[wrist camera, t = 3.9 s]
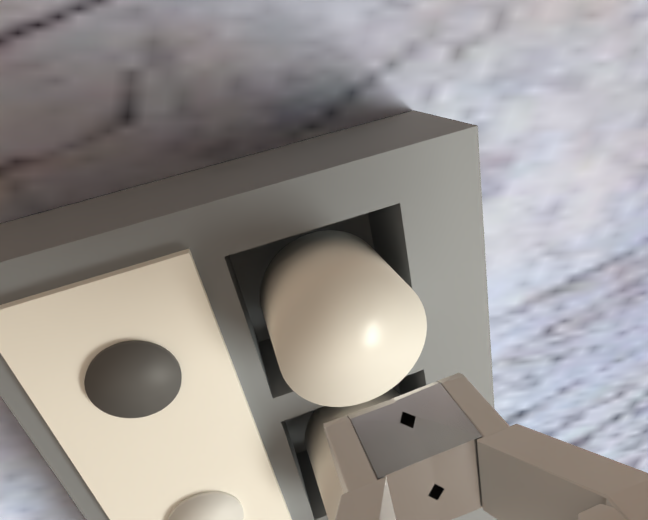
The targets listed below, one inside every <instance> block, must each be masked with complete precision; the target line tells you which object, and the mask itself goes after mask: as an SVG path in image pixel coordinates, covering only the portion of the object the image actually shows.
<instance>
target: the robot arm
mask: <svg viewBox="0 0 648 520" xmlns="http://www.w3.org/2000/svg"><path fill="white" fill-rule="evenodd" d="M323 427H324V431H325V434H326V438H327V441H328V445H329V448H330V452H331V455H332V459H333V462H334V465H335V469H336V472H337V475H338V478H339V481H340V485H341V488H342V491H343V493H344V494H342V495H341V497H340V501H339V505H338V509H337V513H336V517H335V520H452V519H455V518H457V517H460V516H462V515H465V514H468V513H470V512H473V511H475V510H478V509H480V508H483V510H484V511H485V512H487V513H488V514H490V515H491V516H493V517H495V518H496V519H498V520H648V473H646V472H643V471H641V470H638V469H635V468H633V467H630V466H627V465H625V464H622V463H619V462H617V461H614V460H611V459H609V458H606V457H604V456H601V455H598V454H596V453H593V452H590V451H588V450H585V449H582V448H580V447H577V446H574V445H572V444H569V443H566V442H564V441H561V440H558V439H556V438H553V437H551V436H548V435H545V434H543V433H540V432H537V431H535V430H532V429H529V428H527V427H524V426H521V425H519V424H515V425H512V426H509V425H508V424H507V423H506V421H505V420H504V419H503V418H502V417H501V416H500V415H499V414H498V413H497V411H496V410H495V409H494V408H493V407H492V406H491V405H490V404H489V402H488V401H487V400H486V399H485V398H484V397H483V396H482V395H481V394H480V392H479V391H478V390H477V389H476V388H475V387H474V386H473V385H472V384H471V382H470V381H469V380H468V379H467V378H466V377H465V376H464V375H463V374H461V373H456V374H454V375H451V376H449V377H446V378H443V379H441V380H438V381H437V382H433V383H431V384H428V385H426V386H423V387H420V388H418V389H415V390H413V391H410V392H408V393H405V394H402V395H400V396H397V397H395V398H392V399H391V400H388V401H385V402H382V403H379V404H376V405H373V406H371V407H368V408H365V409H362V410H359V411H356V412H353V413H351V414H348V415H347V416H344V417H341V418H338V419H335V420H332V421H329V422H326V423H323Z"/></svg>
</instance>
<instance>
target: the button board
mask: <svg viewBox="0 0 648 520" xmlns="http://www.w3.org/2000/svg"><path fill="white" fill-rule="evenodd" d="M325 230H336V231H343V232H347V233H350V234H353V235H355V236H357V237H359V238H361V239H362V240H364V241H365V242H366V243H367V244H369V245H370V246H371V247H372V248H373V249H374V250H375V251H376V252H377V253H378V254H379V255H380V256H381V258H382V259H383V260H384V261H385V262H386V263H387V264H388V265H389V266H390V267H391V268H392V269H393V270H394V271H395V272H396V273H397V274H398V275H399V276H400V277H401V278H402V279H403V280H404V281H405V282H406V283H407V284H408V285H409V286H410V287H411V288H412V289H413V291H414V292H415V293H416V294H417V295H418V297H419V299H420V300H421V302H422V304H423V307H424V310H425V314H426V318H427V333H426V339H425V343H424V346H423V349H422V352H421V354H420V356H419V358H418V360H417V362H416V363H415V365H414V366H413V368H412V369H411V370H410V371H409V373H408V374H407V375H406V376H405V377H404V378H403V379H402V380H401V381H400V382H399V383H398V384H397V385H396V386H394V387H393V388H392V389H394V390H395V391H397V392H398V393H399V394H400V395H402V394H405V393H408V392H410V391H413V390H415V389H418V388H420V387H423V386H426V385H428V384H431V383H433V382H437V381H438V380H441V379H443V378H446V377H449V376H451V375H454V374H456V373H461V374H463V375H464V376H465V377H466V378H467V379H468V380H469V381H470V382H471V384H472V385H473V386H474V387H475V388H476V389H477V390H478V391H479V392H480V394H481V395H482V396H483V397H484V398H485V399H486V400H487V401H488V402H489V404H490V405H491V406H492V407H493V408H494V395H493V378H492V361H491V345H490V328H489V311H488V294H487V277H486V261H485V244H484V227H483V210H482V193H481V177H480V160H479V143H478V126H477V125H472V124H468V123H464V122H460V121H456V120H452V119H447V118H443V117H439V116H435V115H431V114H426V113H422V112H418V111H414V110H413V111H409V112H406V113H402V114H398V115H395V116H391V117H387V118H384V119H380V120H376V121H373V122H369V123H366V124H362V125H358V126H355V127H351V128H347V129H344V130H340V131H336V132H333V133H329V134H325V135H322V136H318V137H315V138H311V139H307V140H304V141H300V142H296V143H293V144H289V145H285V146H282V147H278V148H274V149H271V150H267V151H264V152H260V153H256V154H253V155H249V156H245V157H242V158H238V159H234V160H231V161H227V162H224V163H220V164H216V165H213V166H209V167H205V168H202V169H198V170H194V171H191V172H187V173H183V174H180V175H176V176H173V177H169V178H165V179H162V180H158V181H154V182H151V183H147V184H143V185H140V186H136V187H132V188H129V189H125V190H122V191H118V192H114V193H111V194H107V195H103V196H100V197H96V198H92V199H89V200H85V201H81V202H78V203H74V204H71V205H67V206H63V207H60V208H56V209H52V210H49V211H45V212H41V213H38V214H34V215H30V216H27V217H23V218H20V219H16V220H12V221H9V222H5V223H1V224H0V396H1V398H2V399H3V401H4V402H5V404H6V405H7V406H8V408H9V409H10V411H11V412H12V414H13V415H14V417H15V418H16V419H17V421H18V422H19V424H20V425H21V427H22V428H23V430H24V431H25V432H26V434H27V435H28V437H29V438H30V440H31V441H32V442H33V444H34V445H35V447H36V448H37V450H38V451H39V453H40V454H41V455H42V457H43V458H44V460H45V461H46V463H47V464H48V466H49V467H50V468H51V470H52V471H53V473H54V474H55V476H56V477H57V479H58V480H59V481H60V483H61V484H62V486H63V487H64V489H65V490H66V492H67V493H68V494H69V496H70V497H71V499H72V500H73V502H74V503H75V505H76V506H77V507H78V509H79V510H80V512H81V513H82V515H83V516H84V517H85V519H86V520H328V517H327V513H326V510H325V507H324V504H323V500H322V497H321V494H320V491H319V488H318V484H317V481H316V478H315V475H314V471H313V468H312V465H311V462H310V458H309V455H308V452H307V449H306V445H305V430H306V427H307V424H308V422H309V419H310V418H311V416H312V414H313V413H314V411H315V410H316V409H318V408H320V407H323V406H322V405H319V404H315V403H312V402H310V401H307V400H306V399H304V398H302V397H300V396H299V395H298V394H297V393H295V392H294V391H293V390H292V389H291V388H290V387H289V385H288V384H287V383H286V381H285V380H284V378H283V376H282V373H281V371H280V368H279V365H278V362H277V358H276V355H275V352H274V348H273V345H272V342H271V338H270V335H269V332H268V328H267V325H266V322H265V319H264V315H263V312H262V308H261V304H260V288H261V283H262V279H263V276H264V274H265V271H266V269H267V268H268V266H269V264H270V263H271V261H272V260H273V258H274V257H275V256H276V255H277V254H278V253H279V251H281V250H282V249H283V248H284V247H285V246H286V245H288V244H289V243H291V242H292V241H294V240H296V239H298V238H299V237H301V236H304V235H307V234H309V233H313V232H317V231H325ZM452 520H498V519H496V518H495V517H493V516H491V515H490V514H488V513H487V512H485V511H484V510H483V508H480V509H478V510H475V511H473V512H470V513H468V514H465V515H462V516H460V517H457V518H455V519H452Z"/></svg>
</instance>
